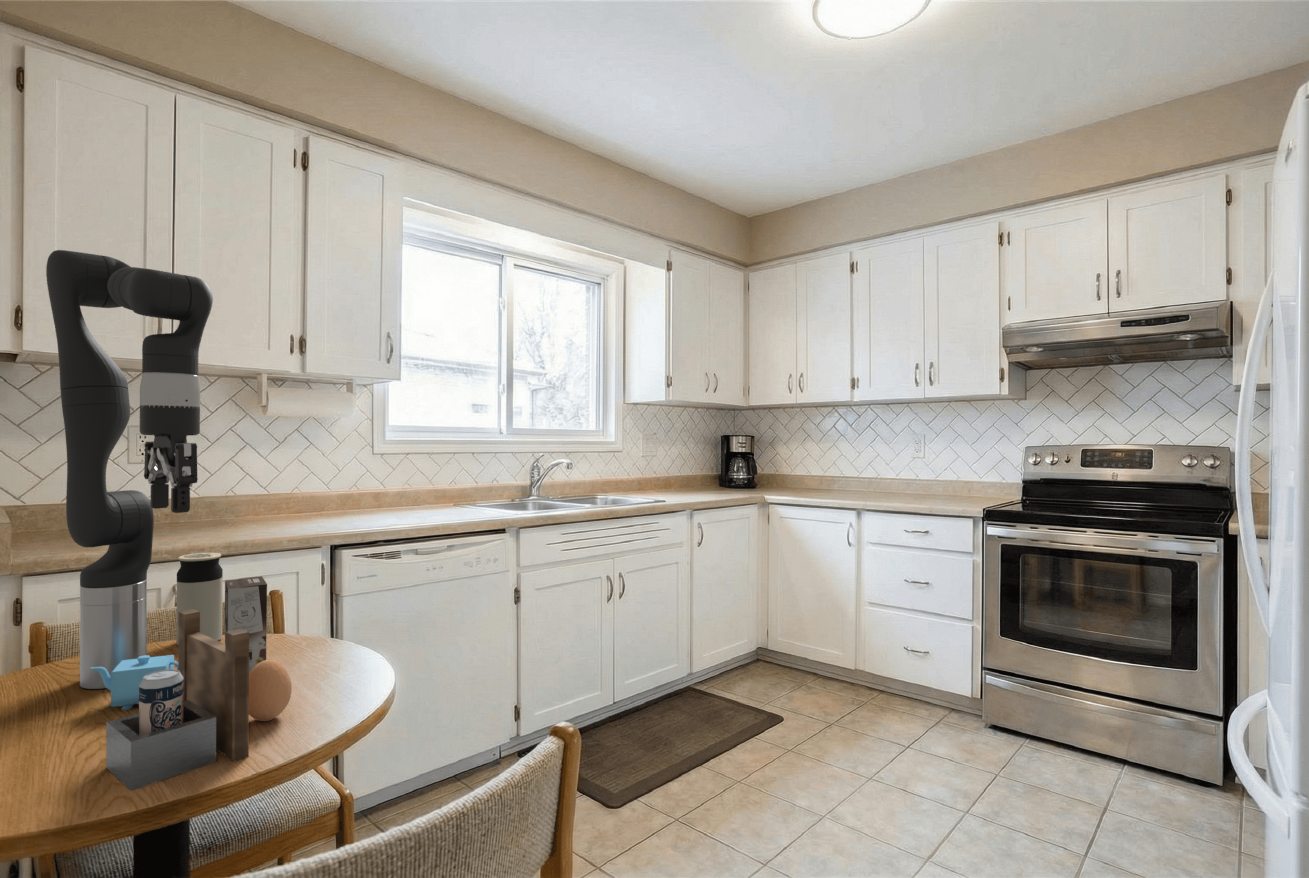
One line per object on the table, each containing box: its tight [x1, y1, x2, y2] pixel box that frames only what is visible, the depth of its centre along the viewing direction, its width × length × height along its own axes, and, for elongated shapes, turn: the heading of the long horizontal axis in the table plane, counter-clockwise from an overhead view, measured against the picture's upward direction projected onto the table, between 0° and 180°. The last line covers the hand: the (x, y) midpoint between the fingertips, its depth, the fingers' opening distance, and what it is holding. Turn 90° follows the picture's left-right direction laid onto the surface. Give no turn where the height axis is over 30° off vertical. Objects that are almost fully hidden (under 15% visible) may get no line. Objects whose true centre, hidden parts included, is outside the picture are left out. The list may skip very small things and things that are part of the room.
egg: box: [249, 659, 293, 722], centre depth 105 cm, size 7×7×9 cm
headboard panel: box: [177, 609, 250, 763], centre depth 98 cm, size 19×2×17 cm, turn 53°
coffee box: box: [224, 576, 268, 673], centre depth 127 cm, size 9×6×16 cm
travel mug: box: [175, 552, 224, 645], centre depth 143 cm, size 8×8×18 cm
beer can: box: [138, 668, 184, 736], centre depth 91 cm, size 5×5×12 cm
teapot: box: [90, 654, 178, 711], centre depth 111 cm, size 12×6×8 cm, turn 115°
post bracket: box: [105, 700, 217, 792], centre depth 91 cm, size 9×9×6 cm
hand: (169, 510), depth 105 cm, fingers open, 8 cm apart
